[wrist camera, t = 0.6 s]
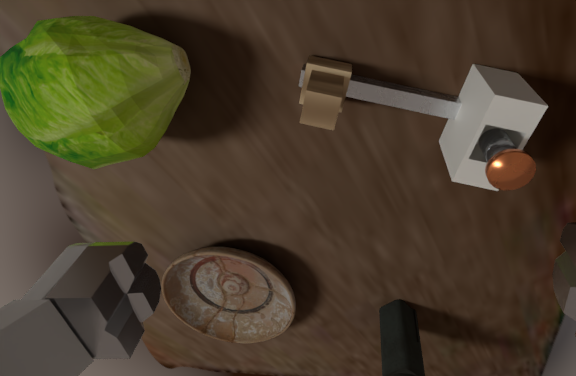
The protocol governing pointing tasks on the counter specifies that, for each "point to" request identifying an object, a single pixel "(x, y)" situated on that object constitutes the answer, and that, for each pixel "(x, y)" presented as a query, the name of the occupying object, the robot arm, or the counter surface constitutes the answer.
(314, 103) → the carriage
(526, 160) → the plunger
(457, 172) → the housing
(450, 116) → the rail
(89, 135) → the lettuce
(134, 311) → the robot arm
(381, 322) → the candle
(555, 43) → the counter surface
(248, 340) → the ceramic bowl
